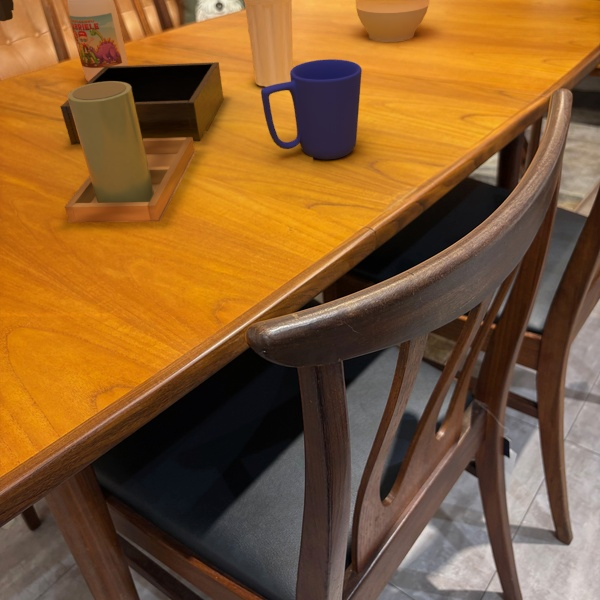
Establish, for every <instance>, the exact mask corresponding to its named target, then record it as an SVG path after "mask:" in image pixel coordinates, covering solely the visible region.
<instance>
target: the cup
mask: <svg viewBox="0 0 600 600" xmlns="http://www.w3.org/2000/svg"><path fill="white" fill-rule="evenodd" d="M292 1H293V0H243V2H244V7H245V15H246V23H247V28H248V29H247V30H248V37H249V43H250V51H251V57H252V65H253V72H254V81H255V84H256V85H258V86H259V87H264V88H265V87H268V86H271V85H275V84H280V83H286V82H291V77H290V72H291V70H292V69H293V68H294V49H293V46H294V45H293V12H292V11H293V8H292V7H293V4H292Z"/></svg>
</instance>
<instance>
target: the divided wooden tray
mask: <svg viewBox="0 0 600 600" xmlns="http://www.w3.org/2000/svg"><path fill="white" fill-rule="evenodd" d="M143 142H144V147H145V151H146V156H147V160H148V165H149V169H150V174H151V179H152V183H153V188H154V192H155V193H154V195H153V197H152V199H151V200H150V202H118V203H97V200H96V196H95V193H94V189H93V186H92V182H91V178H90V175H89V174H88V177H87V178H86V179H85V181H83V183H81V185H80V186H79V188H78V189H77V191H76V192H75V193H74V194H73V195H72V197H71V198H70V199H69V201H67V203H66V204H65V205H64V210H65V212H66V217H67V219H68V221H67V223H132V222H134V223H135V222H136V223H137V222H161V221H162V219H163V217H164V215H165V213H166V211H167V209H168V207H169V206H170V203H171V202H172V199H173V198H174V195H176V192H177V190H178V188H179V186H180V184H181V182H182V180H183V179H184V177H185V174H186V173H187V170H188V169H189V167H190V165H191V163H192V161H193V159H194V158H195V155H196V153H197V150H196V149H195V144H194V141H193V137H187V138H186V137H183V138H146V139H143Z"/></svg>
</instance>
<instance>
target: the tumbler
mask: <svg viewBox="0 0 600 600" xmlns="http://www.w3.org/2000/svg"><path fill="white" fill-rule="evenodd" d="M66 97H67V100H68V101H69V104H70V108H71V111H72V115H73V118H74V122H75V125H76V129H77V133H78V136H79V140H80V143H81V144H80V146H81V150H82V153H83V157H84V161H85V164H86V168H87V172H88V176H89V175H90V178H91V182H92V186H93V189H94V193H95V196H96V200H97V203H118V202H150V200H151V199H152V197H153V195H154V193H155V192H154V188H153V183H152V179H151V174H150V169H149V165H148V160H147V156H146V151H145V147H144V142H143V137H142V133H141V128H140V124H139V119H138V115H137V110H136V105H135V101H134V96H133V92H132V87H131V85H129V84H128V83H125V82H118V81H107V82H97V83H92V84H87V85H85V84H83V85H80V86H79V87H76V88H74V89H72V90H70V91H69V92H68V93H67V96H66Z"/></svg>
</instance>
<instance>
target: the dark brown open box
mask: <svg viewBox="0 0 600 600" xmlns="http://www.w3.org/2000/svg"><path fill="white" fill-rule="evenodd" d="M107 81H118V82H125V83H128V84H129V85H131V87H132V92H133V96H134V101H135V105H136V110H137V115H138V119H139V124H140V128H141V133H142V137H143V139H146V138H183V137H186V138H187V137H193V142H201V140H202V139H203V137H204V135H205V133H206V132H208V131H209V129H210V127H211V126H212V125H211V124H212V123H213V121H214V119H215V117H216V115H217V113H218V111H219V110H220V108H221V105H222V103H223V101H224V100H225V99H224V92H223V85H222V76H221V69H220V63H219V62H218V61H216V62H212V61H211V62H188V63H187V62H186V63H165V64H164V63H163V64H161V63H160V64H136V65H135V64H134V65H133V64H132V65H129V66H110V67H109V66H108V67H104V68H103V69H102V70H101V71H100V72H98V73H97V74H96V75H95V76H94V77H93V78H92V79H91V80H89V81H87V82H86V83H85V84H84V85H87V84H92V83H97V82H107ZM59 108H60V110H61V114H62V118H63V121H64V125H65V128H66V131H67V134H68V138H69V141H70V145H81V143H80V140H79V136H78V133H77V129H76V125H75V122H74V118H73V115H72V111H71V108H70V104H69V101H68V99H66V101H64V103H63V104H61V105H60V107H59Z"/></svg>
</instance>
